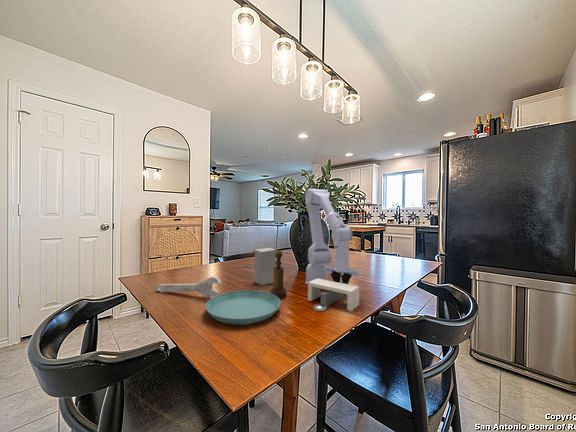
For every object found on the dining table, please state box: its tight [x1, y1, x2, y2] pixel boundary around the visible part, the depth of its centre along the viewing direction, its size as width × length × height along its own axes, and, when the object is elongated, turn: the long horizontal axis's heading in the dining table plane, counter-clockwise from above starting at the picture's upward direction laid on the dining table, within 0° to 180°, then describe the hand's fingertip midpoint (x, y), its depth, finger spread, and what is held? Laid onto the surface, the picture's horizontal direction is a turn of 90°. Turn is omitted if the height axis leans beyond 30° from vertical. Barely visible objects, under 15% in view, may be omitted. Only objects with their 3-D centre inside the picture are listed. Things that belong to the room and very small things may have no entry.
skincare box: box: [254, 247, 277, 286], centre depth 111 cm, size 8×7×16 cm
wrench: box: [155, 276, 223, 299], centre depth 94 cm, size 8×2×30 cm
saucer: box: [205, 289, 281, 326], centre depth 79 cm, size 24×24×3 cm
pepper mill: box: [269, 249, 288, 300], centre depth 94 cm, size 7×6×18 cm
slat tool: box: [320, 281, 350, 307], centre depth 92 cm, size 5×20×4 cm, turn 143°
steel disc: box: [313, 303, 328, 312], centre depth 82 cm, size 4×4×1 cm
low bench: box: [307, 278, 360, 312], centre depth 88 cm, size 17×7×7 cm, turn 53°
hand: (341, 291), depth 96 cm, fingers closed on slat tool, 2 cm apart
